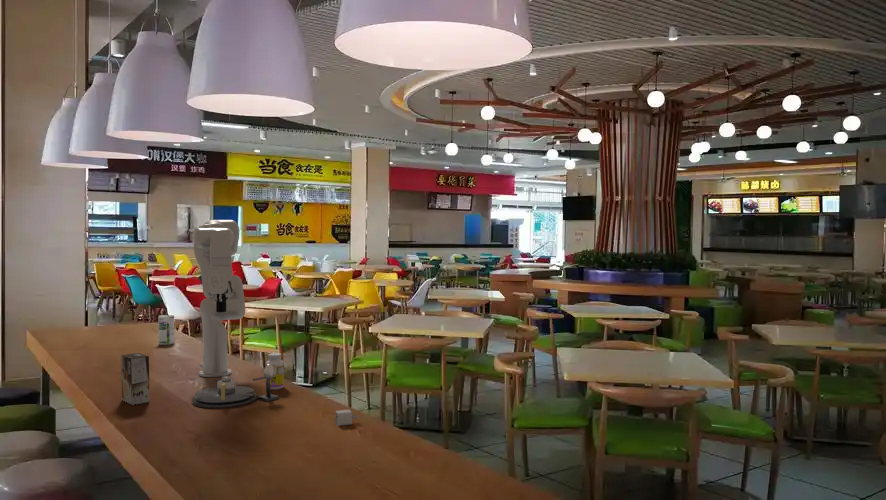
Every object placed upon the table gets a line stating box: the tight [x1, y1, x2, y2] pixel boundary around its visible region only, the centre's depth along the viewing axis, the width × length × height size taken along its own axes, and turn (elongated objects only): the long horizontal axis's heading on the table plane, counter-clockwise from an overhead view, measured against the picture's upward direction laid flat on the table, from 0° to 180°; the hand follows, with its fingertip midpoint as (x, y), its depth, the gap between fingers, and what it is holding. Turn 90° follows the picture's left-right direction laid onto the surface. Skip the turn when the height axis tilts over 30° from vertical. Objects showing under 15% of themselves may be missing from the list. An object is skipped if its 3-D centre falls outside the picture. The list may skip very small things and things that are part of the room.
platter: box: [194, 383, 256, 404], centre depth 240 cm, size 20×20×6 cm
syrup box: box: [157, 314, 175, 346], centre depth 347 cm, size 6×6×14 cm
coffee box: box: [120, 352, 151, 406], centre depth 238 cm, size 9×6×16 cm
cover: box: [217, 375, 236, 395], centre depth 241 cm, size 6×6×6 cm
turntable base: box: [191, 392, 259, 409], centre depth 241 cm, size 22×22×1 cm
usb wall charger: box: [334, 409, 360, 427], centre depth 214 cm, size 4×7×4 cm, turn 112°
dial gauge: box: [252, 364, 280, 403], centre depth 240 cm, size 5×9×12 cm, turn 143°
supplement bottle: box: [265, 352, 285, 391], centre depth 258 cm, size 7×7×13 cm
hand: (221, 311), depth 254 cm, fingers closed
